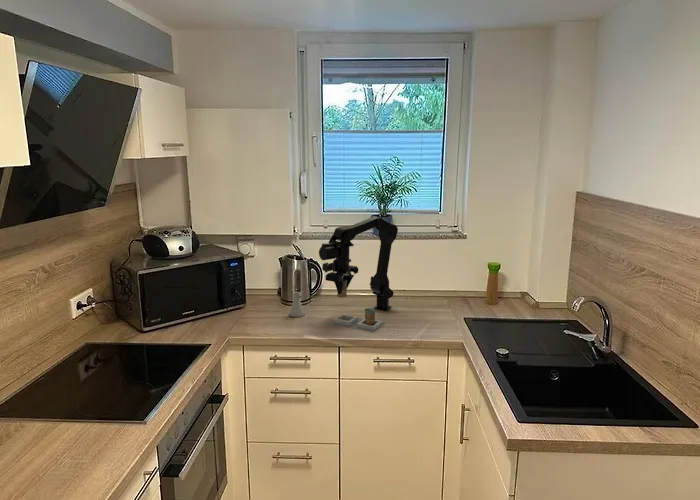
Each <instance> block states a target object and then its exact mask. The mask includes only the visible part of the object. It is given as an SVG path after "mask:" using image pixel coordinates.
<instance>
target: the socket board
mask: <svg viewBox="0 0 700 500" xmlns="http://www.w3.org/2000/svg"><path fill="white" fill-rule="evenodd" d="M330 325H331V326H332V325H333V326H338V327H341V328H342V327H343V328H349V329H352V330H358V331H363V332H366V333H367V332H368V333H375V332H376V331H378V330H379V329H380V328H382V327H383V326H384V325H386V322H383V321H382V320H379V319H375V325H373V326H372V325H367V324H365V318H360V317H359V316H356V315H350V314H345V313H341V314H339V315H338V316H337V317H335V318H334V319H333V321H332V322H331V323H330Z"/></svg>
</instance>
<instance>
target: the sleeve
mask: <svg viewBox="0 0 700 500" xmlns="http://www.w3.org/2000/svg"><path fill="white" fill-rule="evenodd" d="M347 290H348V288H347V280H346V279H345V283H344V286H343V289H342V292H341V294H338V291H336V293H337V294H336V296H337V298H347V296H348V295H347V292H348V291H347Z"/></svg>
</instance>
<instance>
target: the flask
mask: <svg viewBox="0 0 700 500" xmlns="http://www.w3.org/2000/svg"><path fill="white" fill-rule="evenodd" d="M292 295H293V300H292V303H291V307H290V309H289V312H288V315H289V317H293V318H300V317H301V318H302V317H304V316H305V315H306V314H305V311H304V308H303V306H302V303H301V298H300V297H301V296H300V295H301V292H298V291H295V292H292Z"/></svg>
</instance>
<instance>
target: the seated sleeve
mask: <svg viewBox="0 0 700 500" xmlns="http://www.w3.org/2000/svg"><path fill="white" fill-rule="evenodd" d="M375 318H376V309H374V307H373V308H372V307H367V308H364V319H365V324H367V325H372V326H373V325H375V320H376V319H375Z"/></svg>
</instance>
